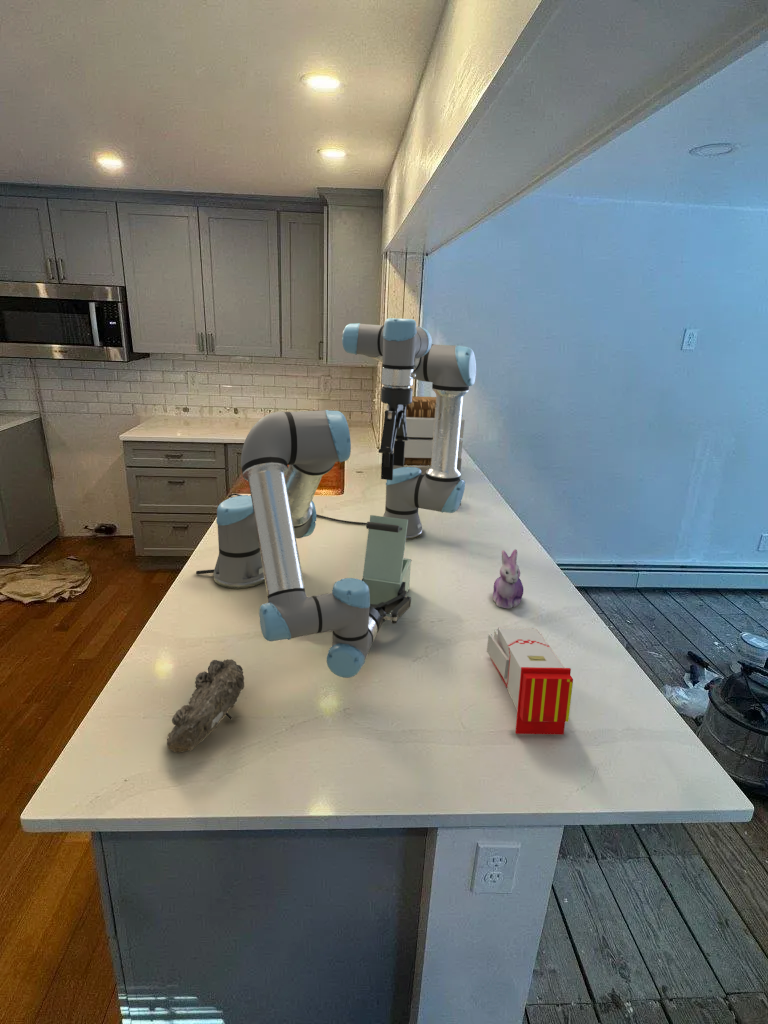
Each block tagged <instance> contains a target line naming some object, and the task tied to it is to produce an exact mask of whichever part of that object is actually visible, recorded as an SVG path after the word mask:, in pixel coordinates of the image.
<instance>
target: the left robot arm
mask: <svg viewBox="0 0 768 1024" xmlns="http://www.w3.org/2000/svg"><path fill="white" fill-rule="evenodd" d="M351 442H352V441H351V433H350V428H349V424H348V421H347V419H346V416H345V415H344V413H343V412H341V411H339V410H329V409H324V410H323V409H322V410H299V411H274V412H271V413H268V414H266V415H265V416H263V417H261V418H260V419H258V420H257V421H256V422H255V424H254V425H253V426H252V427H251V429H250V430H249V432H248V433H247V435H246V437H245V439H244V443H243V445H242V449H241V456H240V467H241V473H242V478H243V479H244V480H245V481H247V482H248V486H249V493H250V495H248V494H244V495H243V494H241V495H242V496H236V495H235V496H233V497H232V496H231V497H228V498H227V499H224V500H223V501H222V502H220V503H219V504H218V506H217V508H216V524H217V538H218V539H217V541H218V543H217V544H218V556H217V559H216V563H215V566H214V569H201V570H196V571H195V574H196V575H204V574H206V575H207V574H213V580H214V583H216V584H217V585H219V586H220V587H222V588H228V589H248V588H252V587H256V586H259V585H261V584H265V590H266V596H267V597H266V598H267V602H266V603H262V604H261V605H260V607H259V609H258V610H259V611H258V615H259V617H258V618H259V625H260V631H261V634H262V637H263V638H264V640H265V641H267V642H277V641H283V640H284V641H285V640H287V641H290V640H291V639H295V638H301V637H306V636H311V635H317V634H324V633H329V632H332V633H331V634H332V637H331V638H332V641H331V642H332V643H331V646H330V647H329V648H328V651H327V652H328V653H327V655H326V665H327V667H328V669H329V670H330V672H331V673H332V674H333V675H335V676H337V677H339V678H343V679H348V678H353V677H355V676H357V674H358V673H359V672H360V671H361V669H362V667H364V666H365V664H366V659H367V657H368V655H369V653H370V650H371V648H372V646H373V645H374V642H375V639H376V637H377V635H378V633H379V631H380V628H381V627H382V624H383V623H384V622H385V621H391V624H394V625H395V624H396V625H397V623H398V620H399V619H400V618H401V617H402V615H404V614H405V613H406V612H407V611H408V610H409V609H410V608H411V606H412V605H411V604H412V597H411V596H407V595H408V592H407V591H405V583H406V582H403V583H402V585H401V587H400V589H399V591H398V594H397V597H395V598H393V599H391V600H389V601H387V602H385V603H384V602H381V603H379V604H370V594H369V587H368V585H367V584H366V583H365V582H364V581H363V579H364V577H363V576H362V578H361V579H359V578H354V577H345V578H341V579H340V580H337V581H335V582H334V583H333V586H332V589H331V592H330V593H329V592H328V593H323V594H317V595H310V596H307V594H306V587H305V581H304V575H303V571H302V564H301V559H300V555H299V549H298V542H297V539H302V538H306V537H310V536H311V535H312V534H313V533H314V531H315V528H316V525H317V523H316V522H317V516H316V514H317V508H316V505H315V503H314V501H313V499H314V496H315V494H316V492H317V490H318V487H319V485H320V482H321V480H322V478H323V476H324V475H325V474H328V473H329V472H330V471H331V470H332V469H333V468H334V466H335V464H336V463H338V462H339V463H343V462H347V461H348V460H349V459H350V457H351V453H352V452H351V450H352V443H351ZM389 612H391V613H389Z"/></svg>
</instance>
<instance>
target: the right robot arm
mask: <svg viewBox="0 0 768 1024" xmlns="http://www.w3.org/2000/svg"><path fill="white" fill-rule="evenodd" d="M341 337H342V338H341V343H342V347H343V350H344V351H345V352H346V353H347V354H351V355H355V356H356V355H362V356H366V357H368V358H371V359H373V360H375V361H378V362H380V363H381V364H382V365H381V379H380V380H381V382H380V383H381V385H382V386H381V388H380V402H381V403H383V404H387V405H388V404H389V410H387V409H385V410H384V420H383V427H382V432H381V433H382V434H381V440H380V446H379V447H380V448H379V449H378V453H379V454H381V467H380V469H381V470H380V471H381V472H380V479H381V480H385V481H386V482H385V504H384V505H385V507H384V508H385V509H384V513H383V515H382V517H390V518H398V519H406V520H408V525H407V534H406V541H410V540H415V539H418V538H420V537H421V536H422V535H423V525H422V522H421V518H420V515H419V509H422V510H428V511H433V512H439V513H442V514H443V513H447V514H453V513H456V512H457V511H458V509H459V508H460V506H461V505H460V503H461V504H462V500H463V497H464V493H465V489H466V481H465V480H463V479H461V475H462V474H461V473H460V472H459V471H458V470H457V458H458V447H459V437H460V426H461V418H462V417H461V415H462V416H463V403H464V396H465V395H466V394H467V393H468V392H469V389H470V387H472V386H474V385H475V383H476V377H477V362H476V356H475V353H474V350H473V349H472V348H471V347H469V346H464V345H458V344H457V345H455V344H454V345H452V344H436V343H435V344H434V343H433V340H432V335H431V334H430V332H429V330H428V329H426V328H424V327H421V326H420V325H418V326H417V322H416V320H415V319H413V318H398V317H397V318H396V317H388V318H386V319H385V320H384V323H383V325H382V324H367V323H360V322H358V323H348V324H347V325H346V326H345V327H344V329H343V331H342V336H341ZM414 380H416V381H420V382H427V383H432V384H431V389H432V391H433V393H435V397H436V405H435V418H434V431H433V445H432V458H431V465H430V466H429V468H427V469H426V470H425V474H424V473H422V469H421V468H419V467H417V466H405V465H404V449H405V441H408V437H407V427H406V405H408V404H410V403H411V402H412V396H413V391H414V390H413V388H412V386H413V383H414ZM395 439H396V440H395ZM403 440H405V441H403ZM387 447H389V448H387ZM393 448H394V453H393ZM393 465H396V466H404V467H402V468H397V469H393ZM242 495H243V494H240V493H231V494H229V495H228V496H227V497H228V498H232V496H233V497H234V496H235V497H236V496H242ZM459 505H460V506H459ZM317 517H318V518H321V519H325V520H329V521H335V522H339V523H345V524H351V525H353V524H354V525H365V526H366V525H367V522H363V521H351V520H344V519H338V518H333V517H330V516H329V517H328V516H325V515H320V514H317V513H316V518H317Z"/></svg>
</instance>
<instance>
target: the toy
mask: <svg viewBox="0 0 768 1024" xmlns="http://www.w3.org/2000/svg"><path fill="white" fill-rule="evenodd" d="M493 633H494V634H492V633H488V638H487V645H486V653H487V654H488V656H489V658H490V661H491V662H492V664H493V666H494V667H495V669H496V671H497V673H498V675H499V676H500V678H501V680H502V683H503V684H504V686H505V688H506V689H507V692H508V694H509V696H510V698H511V701H512V702H513V705H514V706H515V709H516V721H515V734H516V735H557V736H558V735H563V736H565V727H566V723H569V721H570V711H571V703H572V695H573V693H572V692H573V685H574V678H573V677H572V676H571V672H572V669H571V667H565V665H564V664H563V662H562V661H561V660H560V658H559V657H558V656H557V654H556V653H555V652H554V650H553V649H552V647H551V646H550V645H549V643H548V642H547V641H546V639H545V637H544V635H543V633H541V632H540V631H539V629H538V628H535V627H534V628H533V627H532V628H531V627H529V628H526V627H525V628H524V627H498V628H497V629H494V632H493Z"/></svg>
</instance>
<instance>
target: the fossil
mask: <svg viewBox="0 0 768 1024" xmlns="http://www.w3.org/2000/svg"><path fill="white" fill-rule="evenodd" d="M243 670H244V669H243V667H242V665H240V664H237V662H236V661H235V660H234V659H232V658H231V659H227V658H226V659H224V660H223V661H222V660H217V659H212V660H211V661H210V663H209V665H208V666H207V671H201V672H199V673H198V674H197V675H196V676H195V680H194V684H195V685H194V687H195V689H194V690H193V693H192V694H191V697H190V698H189V700H188V704H184V705H182V706H181V707H180V709H177V710H176V711H175V713H174V715H173V716H172V718H171V723H172V724H173V727H172V730H171V731H170V732H168V734H167V738H166V741H167V742H166V745H167V749H168V750H169V751H173V752H174V753H176V754H178V753H182V752H188V751H189V752H192V751H193V750H195V748H196V747H197V746H199V744H200V743H201V742H203V741H204V740H205V739H206V738H207V737H208V736H209V735H210V734H211V733H212V732H214V730H215V729H217V727H218V726H219V724H220V722H221V721H222V720H223V719H224V718H225V716H226V717H227V719H229V720H233V717H232V715H230V714H229V710H230V709H231V708H234V706H235V704H236V703H237V702H238V699H239V697H240V695H241V693H242V691H243V690H245V689H244V688H245V675H244V671H243Z"/></svg>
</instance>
